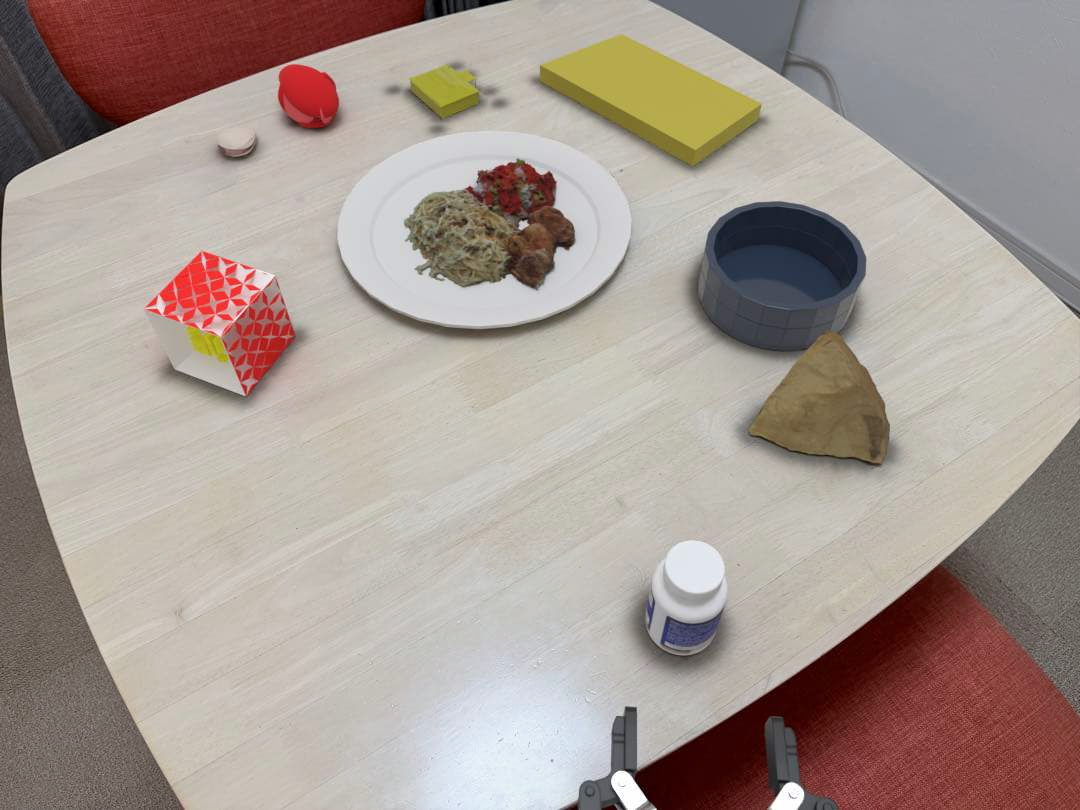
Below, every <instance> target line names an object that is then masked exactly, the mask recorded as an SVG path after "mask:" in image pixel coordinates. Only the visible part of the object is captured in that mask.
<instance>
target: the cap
mask: <svg viewBox="0 0 1080 810" xmlns="http://www.w3.org/2000/svg"><path fill="white" fill-rule="evenodd" d="M278 73H279V74H278V82H279V86H278V90H277V99H278V103H279V106H280V108H281V109H282V110H283V112H284V113H285V114H286V115H287V116H288V117H290V118H291V119H292V120H293V121H295V122H296V123H297V124H298V125H300V126H301V127H304V128H306V129H307V128H308V129H317V128H323V127H327V126H328V125H329V124H330V123H331V122H332V121H333V120H334V118H336V117H335V116H336V114H337V112H338V110H339V106H340V99H339V94H338V91H337V85H336V82H335V80H334V79H333V78H332V77H331V76H330V75H329V74H328V73H327V72H326V71H322V72H321V71H320V70H318V69H316V68H314V67H312V66H308V65H303V64H299V63H293V64H288V65H285V66H284V67H282V68H281V70H280V71H279V72H278ZM314 118H315V120H314Z"/></svg>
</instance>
